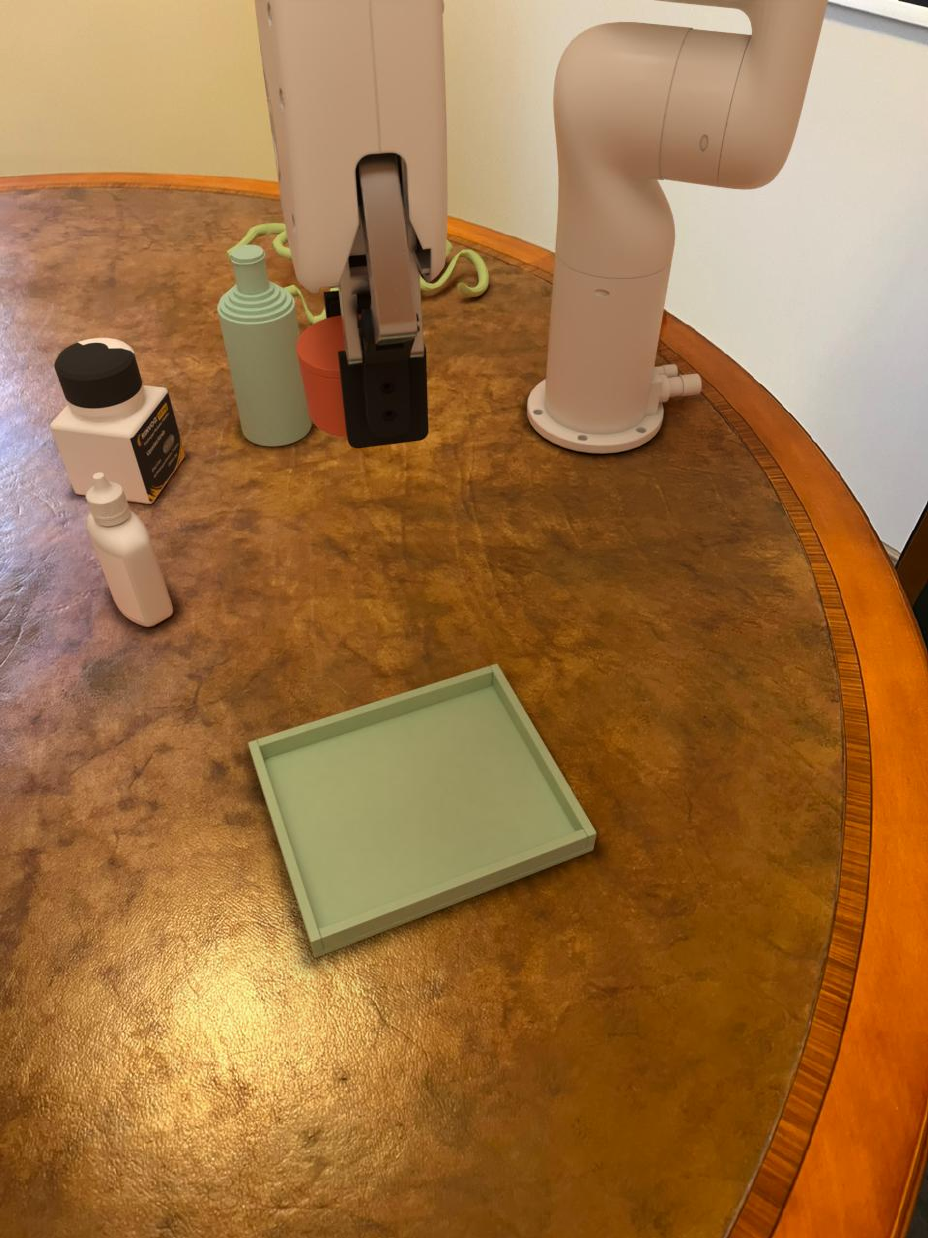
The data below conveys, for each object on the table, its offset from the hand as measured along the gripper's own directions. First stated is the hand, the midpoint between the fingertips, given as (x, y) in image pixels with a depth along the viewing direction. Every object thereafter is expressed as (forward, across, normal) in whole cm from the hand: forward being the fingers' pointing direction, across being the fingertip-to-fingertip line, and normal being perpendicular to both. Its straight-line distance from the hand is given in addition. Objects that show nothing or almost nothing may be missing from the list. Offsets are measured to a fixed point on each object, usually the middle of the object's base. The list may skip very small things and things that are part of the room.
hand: (378, 404), depth 38 cm
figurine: (+28, -67, +6) cm, 72 cm away
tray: (+28, +1, 0) cm, 28 cm away
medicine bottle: (+28, -37, -18) cm, 49 cm away
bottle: (+28, -41, -5) cm, 50 cm away
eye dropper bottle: (+28, -20, -16) cm, 38 cm away
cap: (0, 0, -1) cm, 1 cm away
